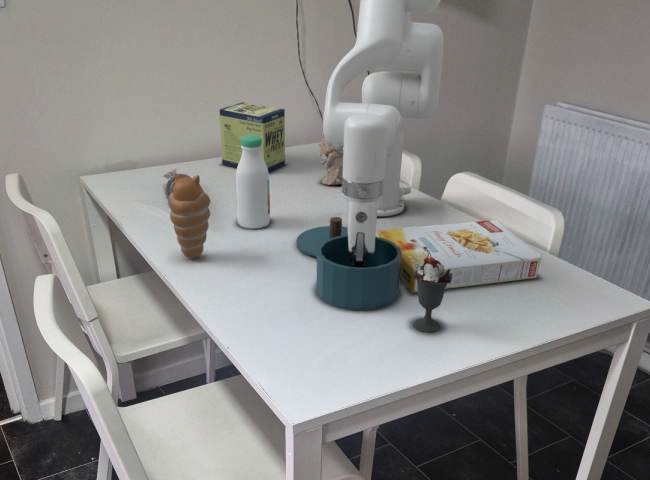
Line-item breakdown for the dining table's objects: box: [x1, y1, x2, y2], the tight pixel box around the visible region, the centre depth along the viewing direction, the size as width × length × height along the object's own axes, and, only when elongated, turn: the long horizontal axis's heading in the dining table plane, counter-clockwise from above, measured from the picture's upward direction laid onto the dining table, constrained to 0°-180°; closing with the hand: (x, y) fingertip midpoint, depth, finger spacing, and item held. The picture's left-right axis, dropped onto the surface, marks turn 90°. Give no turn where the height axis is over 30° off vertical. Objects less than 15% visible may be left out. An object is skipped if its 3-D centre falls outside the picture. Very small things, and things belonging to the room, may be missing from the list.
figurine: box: [318, 135, 344, 186], centre depth 189 cm, size 9×8×20 cm
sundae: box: [412, 247, 452, 333], centre depth 125 cm, size 7×7×15 cm
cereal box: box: [378, 219, 542, 294], centre depth 149 cm, size 20×6×28 cm
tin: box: [315, 235, 402, 311], centre depth 138 cm, size 16×16×8 cm
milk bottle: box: [235, 135, 271, 229], centre depth 164 cm, size 8×8×20 cm
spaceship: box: [162, 168, 192, 200], centre depth 176 cm, size 8×35×8 cm
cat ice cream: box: [167, 172, 211, 260], centre depth 148 cm, size 9×8×18 cm
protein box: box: [219, 101, 286, 173], centre depth 202 cm, size 10×16×16 cm
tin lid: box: [296, 216, 348, 258], centre depth 157 cm, size 17×17×6 cm
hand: (357, 278), depth 139 cm, fingers closed
